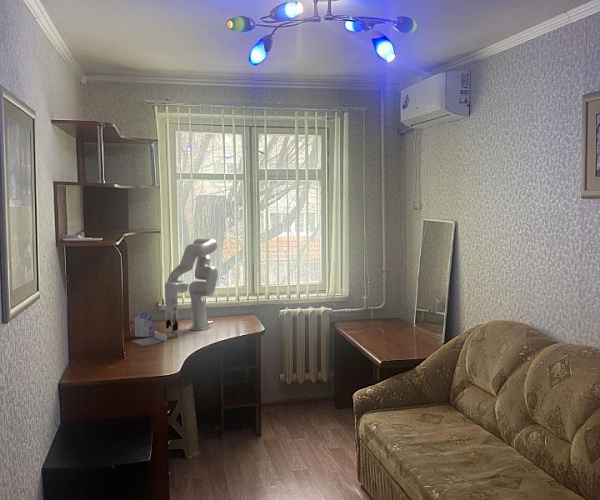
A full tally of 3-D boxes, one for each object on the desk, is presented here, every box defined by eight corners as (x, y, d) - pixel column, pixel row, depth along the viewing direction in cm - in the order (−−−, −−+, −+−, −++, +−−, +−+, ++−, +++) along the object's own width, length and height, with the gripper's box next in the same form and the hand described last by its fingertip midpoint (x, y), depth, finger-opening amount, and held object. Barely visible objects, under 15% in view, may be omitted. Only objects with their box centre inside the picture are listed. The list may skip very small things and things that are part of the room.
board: (152, 337, 369) (152, 337, 369) (163, 342, 356) (162, 341, 356) (132, 341, 361) (132, 340, 361) (142, 346, 348) (142, 345, 348)
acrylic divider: (155, 337, 370) (155, 331, 370) (166, 341, 358) (166, 335, 357) (154, 337, 370) (154, 331, 369) (165, 341, 357) (165, 335, 357)
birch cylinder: (175, 336, 372) (174, 325, 372) (178, 337, 368) (178, 326, 368) (167, 337, 369) (167, 326, 369) (171, 338, 365) (170, 327, 365)
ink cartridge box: (153, 335, 377) (152, 312, 376) (149, 337, 371) (148, 314, 370) (139, 334, 379) (137, 312, 378) (134, 336, 373) (133, 314, 372)
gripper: (183, 302, 362) (183, 330, 363) (170, 300, 376) (171, 326, 377) (171, 304, 358) (172, 332, 358) (159, 301, 371) (160, 328, 372)
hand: (172, 329), depth 368 cm, fingers open, 9 cm apart
